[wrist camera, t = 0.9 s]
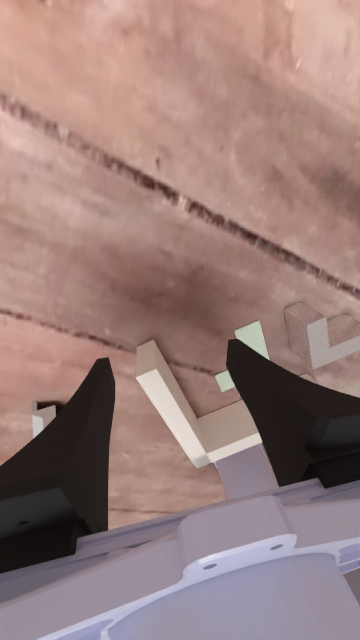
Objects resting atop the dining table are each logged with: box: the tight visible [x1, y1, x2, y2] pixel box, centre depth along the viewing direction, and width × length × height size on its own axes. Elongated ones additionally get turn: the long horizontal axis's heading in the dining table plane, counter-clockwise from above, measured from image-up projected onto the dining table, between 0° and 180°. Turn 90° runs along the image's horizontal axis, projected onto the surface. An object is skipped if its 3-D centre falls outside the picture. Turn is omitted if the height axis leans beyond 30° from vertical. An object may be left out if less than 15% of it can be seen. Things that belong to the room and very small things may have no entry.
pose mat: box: [214, 320, 269, 392], centre depth 27 cm, size 8×7×1 cm
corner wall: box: [136, 340, 319, 469], centre depth 25 cm, size 16×18×5 cm
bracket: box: [283, 302, 360, 369], centre depth 24 cm, size 7×6×4 cm
